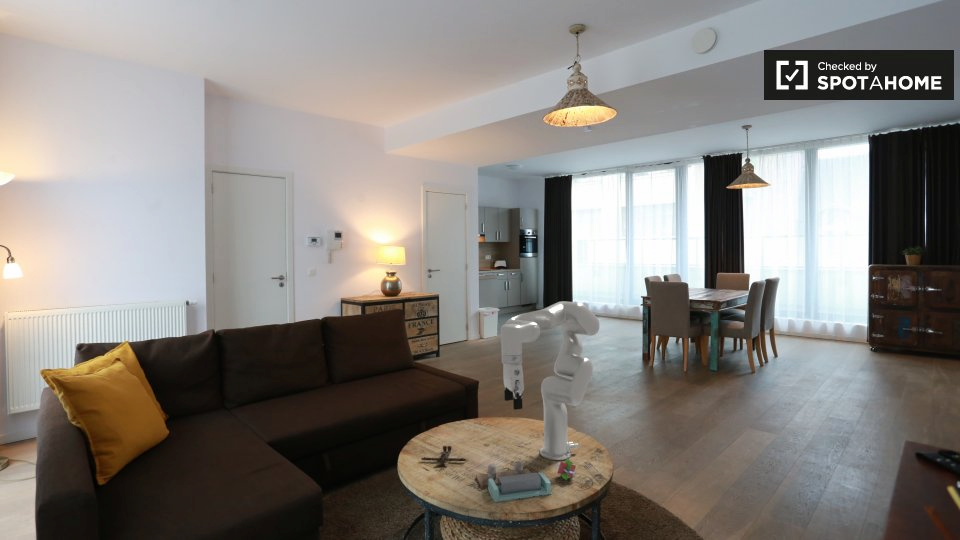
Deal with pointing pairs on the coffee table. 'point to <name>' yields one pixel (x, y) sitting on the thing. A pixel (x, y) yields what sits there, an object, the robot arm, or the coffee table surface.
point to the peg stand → (500, 473)
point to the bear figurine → (444, 457)
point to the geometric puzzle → (566, 469)
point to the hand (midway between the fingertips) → (513, 404)
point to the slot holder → (544, 491)
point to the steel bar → (519, 483)
